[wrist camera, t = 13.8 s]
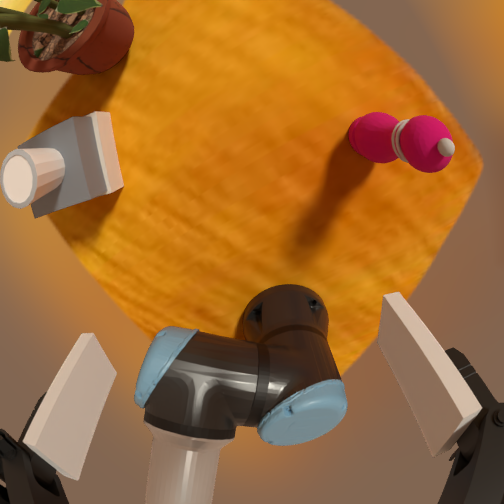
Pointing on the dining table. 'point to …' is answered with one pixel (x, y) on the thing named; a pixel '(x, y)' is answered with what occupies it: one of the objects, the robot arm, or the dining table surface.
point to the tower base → (107, 150)
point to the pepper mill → (403, 140)
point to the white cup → (31, 174)
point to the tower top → (71, 164)
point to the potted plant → (68, 35)
